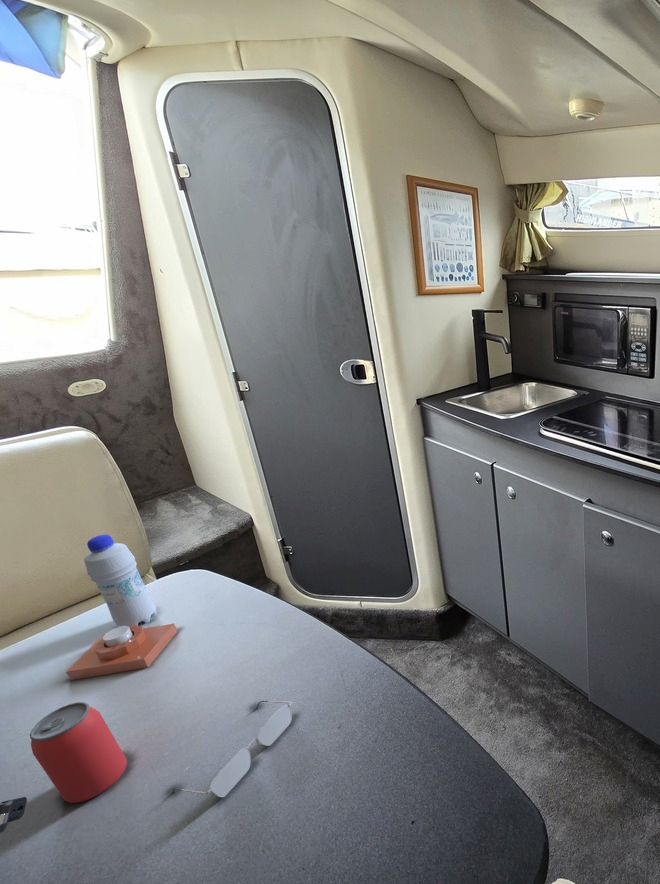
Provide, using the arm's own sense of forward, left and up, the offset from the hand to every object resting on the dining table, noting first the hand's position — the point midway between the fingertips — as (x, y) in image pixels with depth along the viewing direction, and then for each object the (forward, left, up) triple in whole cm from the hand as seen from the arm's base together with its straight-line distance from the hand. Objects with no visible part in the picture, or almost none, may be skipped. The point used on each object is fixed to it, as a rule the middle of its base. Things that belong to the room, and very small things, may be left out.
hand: (17, 808), depth 59 cm
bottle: (-16, +44, -8) cm, 48 cm away
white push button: (-12, +34, -4) cm, 37 cm away
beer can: (0, +8, -8) cm, 12 cm away
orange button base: (-12, +34, -8) cm, 37 cm away
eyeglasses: (+18, +8, -8) cm, 22 cm away
